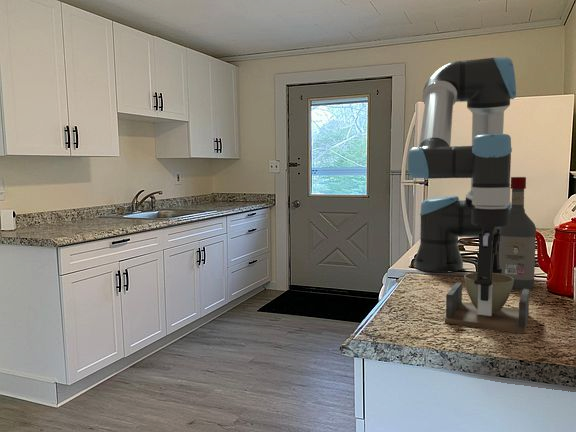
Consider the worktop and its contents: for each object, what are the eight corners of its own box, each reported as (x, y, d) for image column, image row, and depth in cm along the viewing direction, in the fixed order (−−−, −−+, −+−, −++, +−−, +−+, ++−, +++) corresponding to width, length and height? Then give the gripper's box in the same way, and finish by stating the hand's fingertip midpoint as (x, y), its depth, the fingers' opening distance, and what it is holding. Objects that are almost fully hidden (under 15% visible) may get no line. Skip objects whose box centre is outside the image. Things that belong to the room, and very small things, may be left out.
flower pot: (518, 317, 99) (519, 283, 98) (467, 315, 101) (468, 282, 100) (506, 303, 109) (507, 272, 108) (460, 301, 111) (461, 271, 110)
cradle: (457, 305, 115) (457, 281, 114) (528, 314, 107) (529, 288, 107) (445, 322, 103) (445, 295, 102) (524, 333, 95) (525, 304, 95)
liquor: (533, 291, 126) (537, 177, 123) (495, 288, 130) (498, 177, 127) (534, 283, 134) (537, 176, 131) (498, 280, 138) (501, 176, 135)
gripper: (479, 202, 114) (477, 293, 116) (462, 211, 95) (460, 320, 97) (514, 203, 110) (511, 297, 113) (503, 212, 91) (501, 325, 93)
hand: (487, 307), depth 105 cm, fingers closed on flower pot, 10 cm apart
